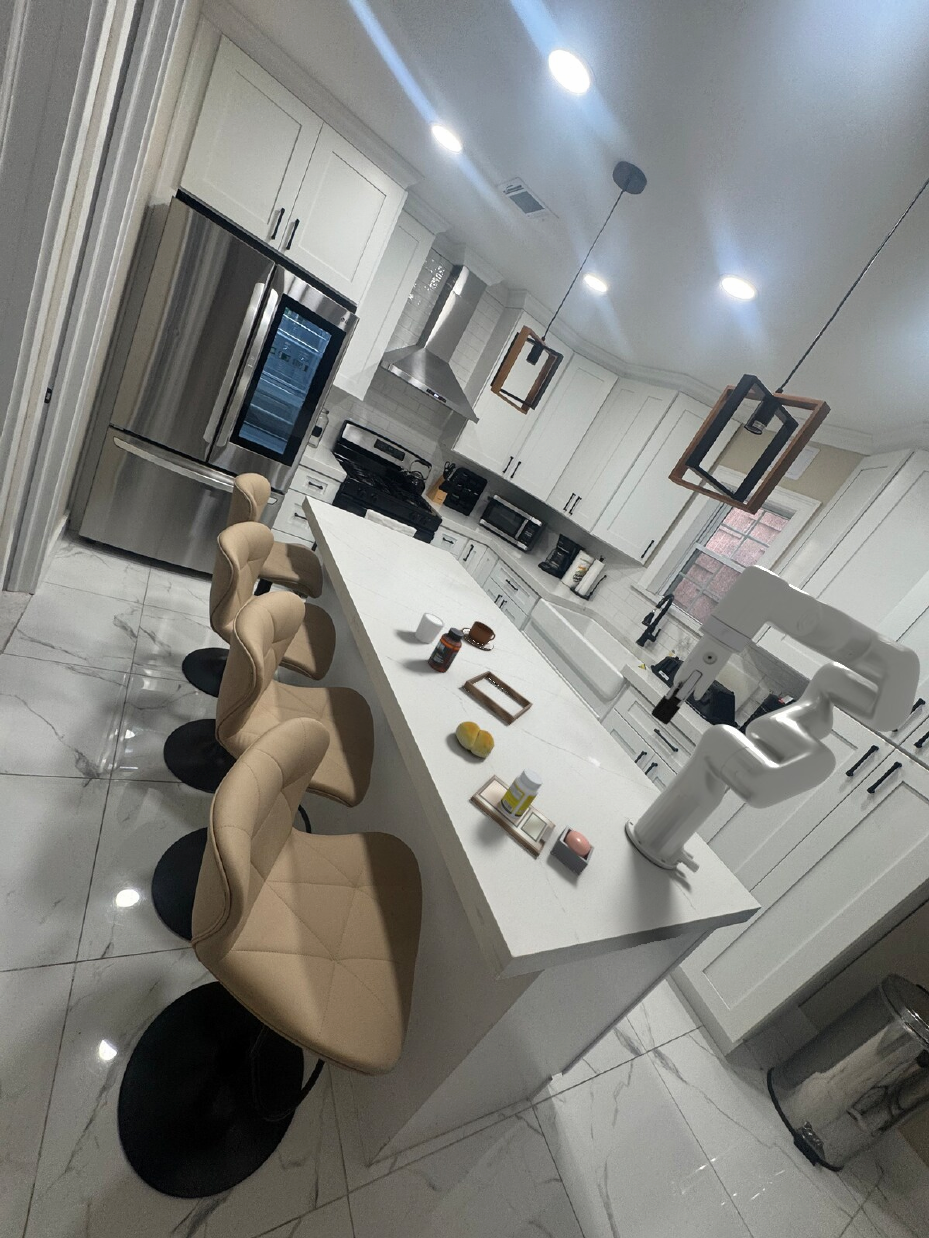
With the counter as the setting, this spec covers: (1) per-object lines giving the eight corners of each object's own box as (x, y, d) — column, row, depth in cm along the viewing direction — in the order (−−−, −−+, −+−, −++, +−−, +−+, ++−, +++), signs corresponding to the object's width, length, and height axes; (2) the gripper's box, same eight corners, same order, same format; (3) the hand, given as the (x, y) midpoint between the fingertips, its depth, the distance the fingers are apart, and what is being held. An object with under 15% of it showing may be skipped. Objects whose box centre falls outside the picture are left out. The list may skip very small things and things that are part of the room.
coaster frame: (528, 710, 140) (532, 703, 140) (510, 724, 126) (514, 718, 126) (485, 676, 145) (489, 670, 145) (462, 687, 131) (466, 680, 131)
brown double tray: (553, 828, 97) (557, 822, 97) (537, 857, 87) (541, 851, 87) (492, 777, 102) (496, 771, 101) (470, 798, 92) (474, 792, 91)
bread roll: (459, 724, 112) (469, 711, 111) (492, 749, 111) (502, 735, 110) (448, 737, 105) (458, 723, 104) (483, 764, 103) (494, 750, 102)
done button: (583, 854, 93) (592, 843, 92) (578, 866, 89) (588, 855, 88) (563, 837, 94) (572, 826, 94) (558, 849, 90) (567, 837, 90)
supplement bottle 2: (521, 806, 96) (544, 774, 94) (521, 823, 91) (546, 790, 89) (499, 795, 96) (522, 762, 93) (498, 811, 91) (522, 777, 89)
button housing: (585, 858, 94) (594, 847, 93) (578, 875, 88) (588, 864, 88) (558, 836, 96) (567, 825, 95) (550, 851, 90) (559, 840, 89)
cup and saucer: (473, 633, 175) (482, 618, 173) (497, 653, 168) (506, 638, 167) (452, 631, 165) (461, 616, 163) (476, 653, 159) (486, 637, 157)
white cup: (410, 629, 148) (421, 609, 146) (431, 636, 151) (442, 617, 149) (414, 640, 142) (426, 620, 140) (435, 648, 145) (447, 628, 143)
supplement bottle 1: (448, 667, 138) (468, 634, 134) (445, 675, 132) (466, 640, 129) (429, 656, 138) (449, 622, 134) (425, 664, 132) (445, 629, 129)
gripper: (748, 654, 77) (675, 744, 82) (741, 642, 91) (678, 720, 96) (704, 626, 79) (635, 716, 85) (702, 619, 93) (644, 696, 98)
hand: (658, 718), depth 90 cm, fingers closed
